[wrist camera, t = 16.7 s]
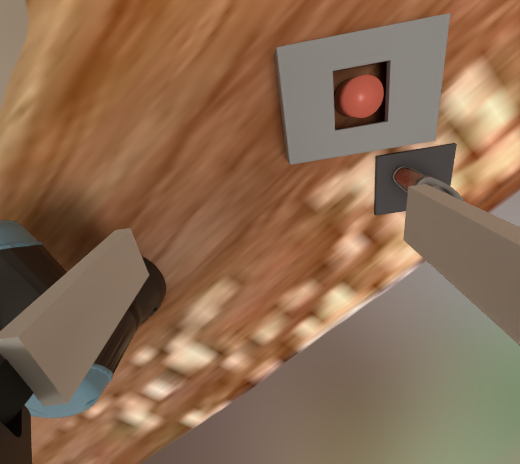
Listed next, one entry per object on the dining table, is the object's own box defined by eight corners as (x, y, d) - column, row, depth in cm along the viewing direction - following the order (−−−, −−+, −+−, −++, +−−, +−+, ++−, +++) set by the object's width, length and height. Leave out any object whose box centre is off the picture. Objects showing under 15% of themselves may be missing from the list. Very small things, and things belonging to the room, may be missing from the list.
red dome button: (334, 119, 39) (345, 120, 34) (333, 81, 37) (344, 78, 32) (368, 113, 38) (382, 114, 34) (368, 75, 36) (384, 71, 32)
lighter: (437, 185, 43) (484, 206, 34) (422, 202, 45) (464, 226, 36) (400, 160, 42) (440, 175, 33) (386, 179, 43) (420, 198, 34)
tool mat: (374, 214, 46) (375, 215, 46) (375, 156, 42) (377, 156, 41) (445, 203, 45) (447, 204, 45) (454, 143, 41) (456, 143, 41)
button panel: (286, 159, 42) (290, 165, 37) (274, 54, 36) (276, 47, 31) (415, 137, 41) (435, 141, 36) (425, 25, 35) (450, 13, 30)
